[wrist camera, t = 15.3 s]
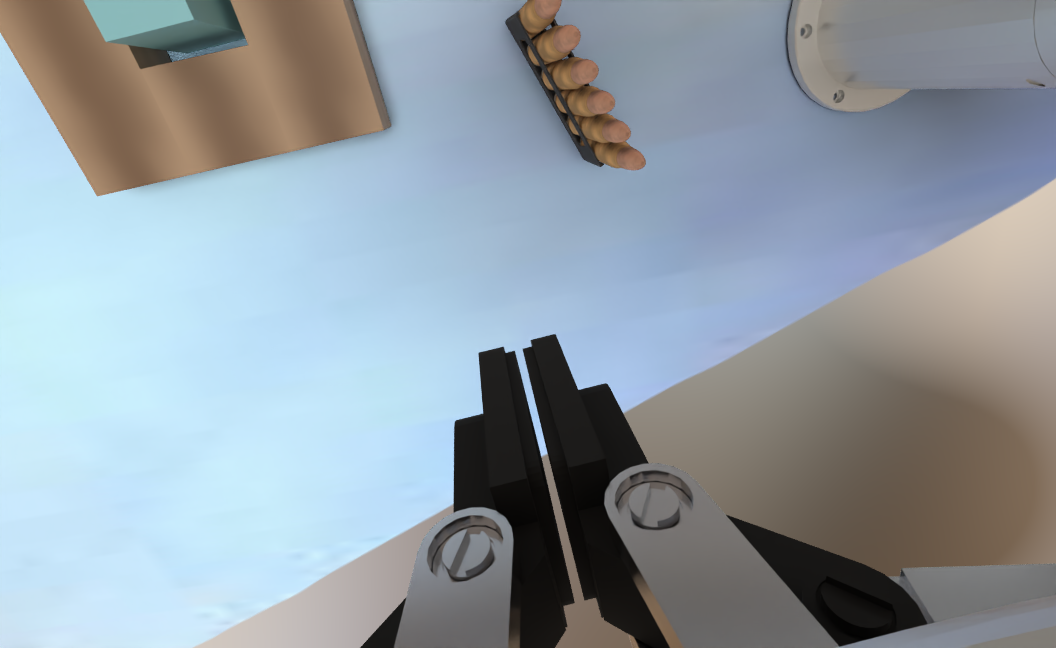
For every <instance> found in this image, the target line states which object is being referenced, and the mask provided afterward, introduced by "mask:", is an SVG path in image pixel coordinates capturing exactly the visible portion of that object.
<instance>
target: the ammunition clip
mask: <svg viewBox="0 0 1056 648" xmlns="http://www.w3.org/2000/svg"><path fill="white" fill-rule="evenodd" d="M561 1H562V0H528V1H527V2H526V3H525V5H524V6H523V7H522V8H521V9H520V10H519V11H518V12H516V13H515V14H514V15H512V16H511V17H510V18H508V19H507V20H506V22H505V23H506V25H507V27H508V28H509V30H510V32H511V34H512V35H513V37H514V39H515V41H516V42H517V44H518V46H519V48H520V49H521V51H522V53H523V55H524V56H525V58H526V60H527V62H528V63H529V65H530V67H531V69H532V70H533V72H534V74H535V76H536V77H537V79H538V81H539V83H540V84H541V86H542V88H543V89H544V91H545V93H546V95H547V96H548V98H549V100H550V102H551V103H552V105H553V107H554V109H555V110H556V112H557V114H558V116H559V117H560V119H561V121H562V123H563V124H564V126H565V128H566V130H567V131H568V133H569V135H570V137H571V138H572V140H573V142H574V144H575V145H576V147H577V149H578V151H579V152H580V154H581V156H582V158H583V159H584V160H586V161H588V162H590V163H593V164H595V165H597V166H599V167H602V166H603V165H604V164H607V165H609V166H611V167H614V168H624V169H628V170H639V169H641V168H643V167H644V166H645V164H646V161H645V158H644V156H643V155H642V154H641V153H640V152H639V151H638V150H636V149H634V148H632V147H631V146H630V145H629V144H628V143H626V142H625V141H626V140H627V139H628V138H629V137H630V135H631V131H630V129H629V127H628V126H627V125H626V124H625V123H624V122H622V121H619V120H617V119H615V118H614V117H613V116H612V115H609V114H605V113H607V112H609V111H611V110H612V109H613V108H614V106H615V99H614V98H613V96H612V95H611V94H610V93H608V92H606V91H603V90H599V89H598V88H596V87H593V86H590V85H589V83H590V82H592V81H593V80H594V79H595V78H596V77H597V75H598V71H599V70H598V66H597V64H596V63H595V62H593V61H591V60H588V59H581V58H579V57H574V55H573V53H572V51H571V50H573V49H574V48H575V47H576V46H577V45H578V43H579V41H580V37H581V35H580V31H579V29H578V28H577V27H575V26H573V25H565V26H558V25H557V23H556V21H555V19H554V18H555V16H556V13H557V12H558V10H559V8H560V6H561ZM550 24H551V26H552V28H550V29H549V30H547V31H546V29H545V28H546V27H547V26H549V25H550ZM567 55H568V57H569V58H568V59H564V60H562V58H565V57H566V56H567ZM583 85H584V86H583ZM599 161H600V162H599Z"/></svg>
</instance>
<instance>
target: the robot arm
mask: <svg viewBox="0 0 1056 648" xmlns="http://www.w3.org/2000/svg"><path fill="white" fill-rule="evenodd" d="M800 31H801V34H800ZM787 41H788V51H789V59H790V62H791V66H792V69H793V73H794V75H795V77H796V79H797V81H798V83H799V85H800V87H801V88H802V89H803V90H804V91H805V93H806V94H807V95H808V96H809V97H810V98H811V99H812V100H814V101H815V102H817V103H818V104H820V105H821V106H823V107H826V108H829V109H832V110H835V111H844V112H865V111H869V110H873V109H877V108H880V107H882V106H885V105H887V104H889V103H892V102H894V101H895V100H897V99H898V98H900V97H902V96H903V95H905V94H906V93H908V92H909V91H910V90H911V89H1033V88H1056V0H793V3H792V8H791V12H790V17H789V24H788V39H787ZM531 344H532V347H528V348H524V349H523V353H524V357H525V361H526V365H527V369H528V373H529V378H530V382H531V386H532V390H533V394H534V398H535V403H536V407H537V411H538V415H539V419H540V423H541V427H542V432H543V436H544V440H545V444H546V448H547V452H548V456H549V460H550V464H551V468H552V472H553V476H554V480H555V484H556V488H557V492H558V496H559V500H560V504H561V508H562V512H563V516H564V520H565V524H566V528H567V532H568V536H569V540H570V544H571V548H572V552H573V556H574V560H575V564H576V568H577V572H578V576H579V580H580V584H581V588H582V592H583V596H584V600H588V599H592V598H596V599H597V602H598V606H599V610H600V613H601V617H602V618H603V617H604V620H605V621H607V622H609V623H610V624H612V625H614V626H615V627H617V628H619V629H621V630H622V631H624V632H626V633H628V634H629V637H630V641H631V644H632V647H633V648H1056V564H1028V565H1027V564H1026V565H993V566H961V567H928V568H902V569H901V573H900V577H887V576H886V575H885V574H883V573H881V572H879V571H876V570H875V569H872V568H870V567H868V566H866V565H864V564H862V563H859V562H856V561H853V560H850V559H848V558H845V557H842V556H839V555H836V554H833V553H831V552H828V551H825V550H823V549H820V548H817V547H814V546H812V545H809V544H806V543H803V542H800V541H798V540H795V539H792V538H789V537H786V536H784V535H781V534H778V533H775V532H773V531H770V530H767V529H764V528H761V527H759V526H756V525H753V524H750V523H747V522H744V521H742V520H739V519H736V518H734V517H730V516H728V515H725V514H724V513H723V511H722V510H721V509H720V508H719V507H718V506H717V504H716V503H715V502H714V501H713V500H712V498H711V497H710V496H709V495H708V494H707V493H706V492H705V490H704V489H703V488H702V487H701V486H700V485H699V483H698V482H697V481H696V480H695V479H693V478H692V477H691V476H690V475H689V474H688V473H686V472H684V471H682V470H680V469H678V468H676V467H674V466H668V465H664V464H659V463H657V464H649V463H648V461H647V459H646V457H645V455H644V453H643V451H642V449H641V448H640V445H639V444H638V442H637V440H636V438H635V436H634V434H633V432H632V430H631V428H630V426H629V424H628V422H627V420H626V418H625V417H624V414H623V412H622V411H621V409H620V407H619V405H618V403H617V401H616V399H615V397H614V395H613V393H612V391H611V389H610V387H609V386H608V384H606V383H605V384H601V385H597V386H593V387H589V388H585V389H581V390H578V389H577V386H576V384H575V381H574V379H573V376H572V374H571V371H570V369H569V366H568V364H567V361H566V359H565V356H564V354H563V351H562V349H561V347H560V344H559V342H558V339H557V337H556V335H555V334H554V335H549V336H545V337H541V338H537V339H533V340H531ZM479 365H480V377H481V390H482V402H483V414H480V415H476V416H472V417H468V418H464V419H460V420H456V421H455V426H454V513H453V514H451V515H449V516H447V517H445V518H443V519H442V520H441V521H440V522H439V523H437V524H436V525H435V526H434V527H432V529H431V530H430V531H429V533H428V534H427V535H426V536H425V538H424V539H423V541H422V543H421V546H420V548H419V551H418V553H417V558H416V561H415V565H414V569H413V573H412V577H411V581H410V585H409V589H408V593H407V597H406V598H405V599H404V600H403V602H402V603H401V604H400V605H399V606H398V607H397V608H396V609H395V610H394V611H393V613H392V614H391V615H390V616H389V617H388V618H387V619H386V620H385V621H384V622H383V623H382V625H381V626H380V627H379V628H378V629H377V630H376V631H375V632H374V633H373V634H372V635H371V637H370V638H369V639H368V640H367V641H366V642H365V643H364V644H363V646H361V648H555V647H556V645H557V643H558V642H559V640H560V638H561V637H562V635H563V634H564V632H565V631H566V629H565V627H567V623H566V617H565V613H564V608H563V606H565V605H569V604H573V603H574V598H573V593H572V589H571V584H570V580H569V576H568V571H567V567H566V563H565V558H564V554H563V550H562V545H561V541H560V537H559V533H558V528H557V523H556V519H555V515H554V510H553V506H552V502H551V498H550V493H549V489H548V484H547V480H546V476H545V471H544V467H543V463H542V458H541V454H540V450H539V446H538V442H537V438H536V434H535V430H534V426H533V422H532V418H531V414H530V410H529V406H528V402H527V398H526V394H525V390H524V386H523V382H522V378H521V374H520V370H519V366H518V362H517V358H516V354H515V351H512V352H508V353H505V350H504V347H500V348H496V349H492V350H488V351H484V352H480V353H479Z"/></svg>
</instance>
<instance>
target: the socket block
mask: <svg viewBox="0 0 1056 648" xmlns="http://www.w3.org/2000/svg"><path fill="white" fill-rule="evenodd" d="M230 1H231V3H232V6H233V8H234V11H235V13H236V16H237V18H238V21H239V23H240V26H241V28H242V31H243V33H244V36H245V38H246V41H247V43H248V45H246V46H242V47H237V48H233V49H228V50H224V51H219V52H215V53H210V54H206V55H201V56H197V57H193V58H188V59H184V60H179V61H175V62H171V60H170V57H169V55H168V53H167V51H166V50H159V49H152V48H145V47H138V46H131V45H124V44H116V43H109V42H106V41H105V39H104V38H103V36H102V34H101V32H100V30H99V28H98V26H97V25H96V23H95V21H94V19H93V17H92V15H91V13H90V12H89V10H88V8H87V6H86V4H85V2H84V0H0V33H1V34H2V36H3V38H4V39H5V41H6V43H7V44H8V46H9V48H10V50H11V51H12V53H13V55H14V56H15V58H16V60H17V61H18V63H19V65H20V66H21V68H22V70H23V72H24V73H25V75H26V77H27V78H28V80H29V82H30V83H31V85H32V87H33V88H34V90H35V92H36V94H37V95H38V97H39V99H40V100H41V102H42V104H43V105H44V107H45V109H46V110H47V112H48V114H49V115H50V117H51V119H52V121H53V122H54V124H55V126H56V127H57V129H58V131H59V132H60V134H61V136H62V137H63V139H64V141H65V143H66V144H67V146H68V148H69V149H70V151H71V153H72V154H73V156H74V158H75V159H76V161H77V163H78V165H79V166H80V168H81V170H82V171H83V173H84V175H85V176H86V178H87V180H88V181H89V183H90V185H91V187H92V188H93V190H94V192H95V193H96V195H97V196H101V195H105V194H109V193H114V192H118V191H122V190H127V189H131V188H135V187H140V186H144V185H148V184H153V183H157V182H161V181H166V180H170V179H174V178H179V177H183V176H187V175H192V174H196V173H200V172H205V171H209V170H213V169H218V168H222V167H227V166H231V165H235V164H240V163H244V162H248V161H253V160H257V159H261V158H266V157H270V156H274V155H279V154H283V153H287V152H292V151H296V150H300V149H305V148H309V147H313V146H318V145H322V144H326V143H331V142H335V141H339V140H344V139H348V138H352V137H357V136H361V135H365V134H370V133H374V132H378V131H383V130H385V129H387V128H389V127H391V123H390V120H389V116H388V113H387V110H386V107H385V103H384V100H383V97H382V94H381V90H380V87H379V84H378V81H377V77H376V74H375V71H374V67H373V64H372V61H371V58H370V54H369V51H368V48H367V45H366V41H365V38H364V35H363V32H362V28H361V25H360V22H359V19H358V15H357V12H356V9H355V6H354V2H353V0H230Z"/></svg>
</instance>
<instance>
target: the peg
mask: <svg viewBox="0 0 1056 648" xmlns="http://www.w3.org/2000/svg"><path fill="white" fill-rule="evenodd" d="M84 2H85V4H86V6H87V8H88V10H89V12H90V13H91V15H92V17H93V19H94V21H95V23H96V25H97V26H98V28H99V30H100V32H101V34H102V36H103V38H104V39H105V41H106V42H109V43H116V44H124V45H131V46H138V47H145V48H152V49H159V50H166V51H174V52H181V53H190V52H194V51H198V50H202V49H206V48H210V47H213V46H217V45H221V44H225V43H229V42H233V41H237V40H241V39H245V36H244V33H243V31H242V28H241V26H240V23H239V21H238V18H237V16H236V13H235V11H234V8H233V6H232V3H231V1H230V0H84Z"/></svg>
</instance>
